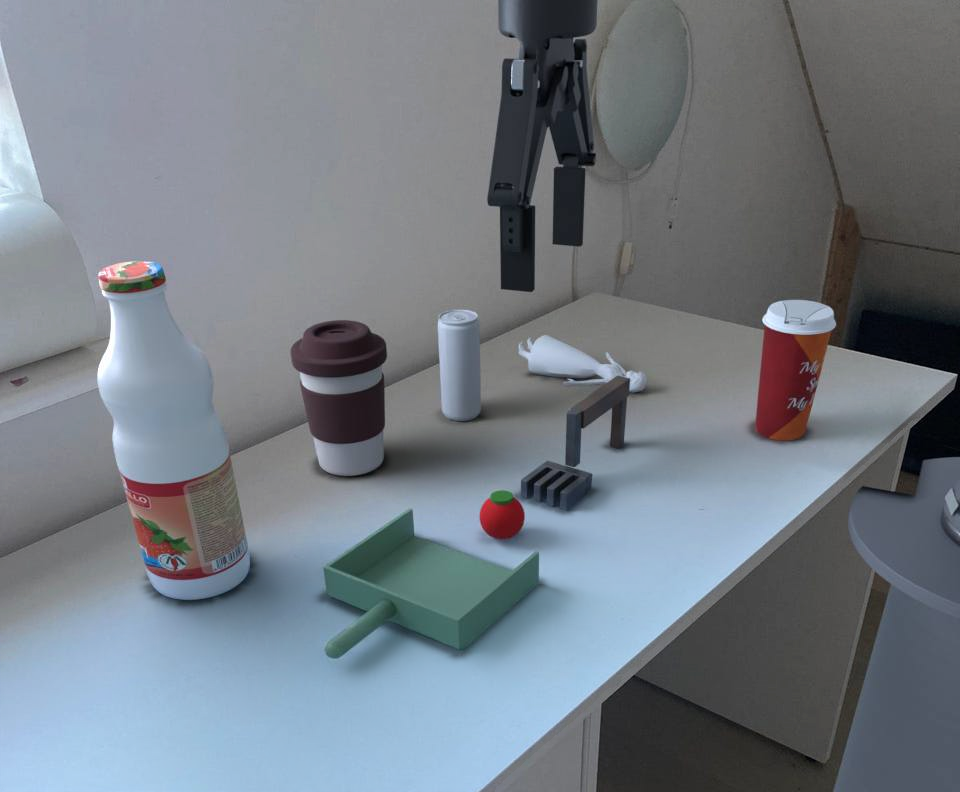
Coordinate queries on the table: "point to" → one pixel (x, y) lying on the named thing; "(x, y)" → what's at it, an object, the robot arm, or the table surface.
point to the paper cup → (791, 366)
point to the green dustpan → (421, 587)
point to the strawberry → (502, 515)
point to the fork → (579, 447)
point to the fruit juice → (169, 441)
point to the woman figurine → (574, 364)
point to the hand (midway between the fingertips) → (544, 266)
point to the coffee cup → (343, 394)
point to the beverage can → (460, 364)
